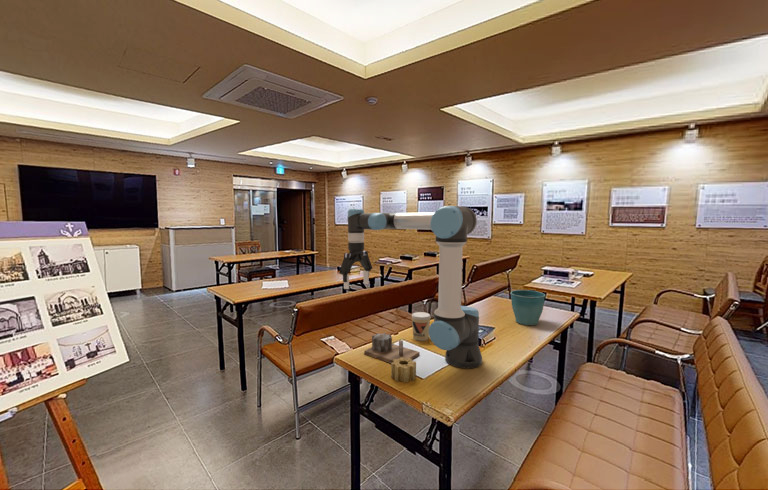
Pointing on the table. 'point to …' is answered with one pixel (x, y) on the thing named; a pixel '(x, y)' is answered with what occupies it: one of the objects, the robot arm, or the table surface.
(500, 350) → the table surface
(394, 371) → the brass gear
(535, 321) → the flower pot
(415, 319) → the coffee cup
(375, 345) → the gear board
